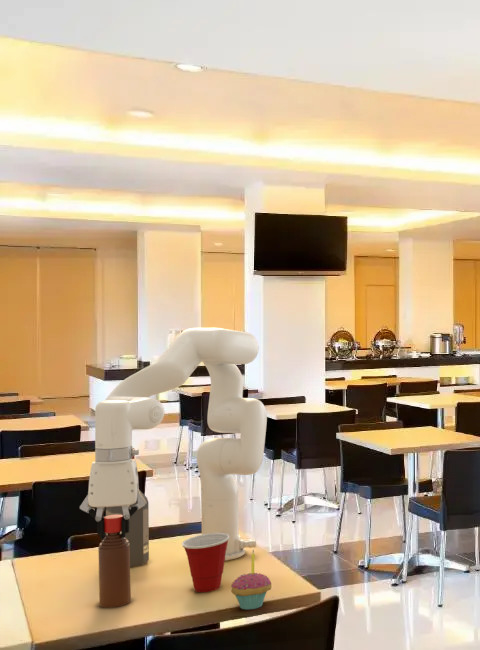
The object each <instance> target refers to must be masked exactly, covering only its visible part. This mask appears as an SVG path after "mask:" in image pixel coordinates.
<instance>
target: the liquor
mask: <svg viewBox="0 0 480 650" xmlns="http://www.w3.org/2000/svg"><path fill="white" fill-rule="evenodd" d="M132 448H133V449H135V448H134V447H132ZM132 459H135V456H133V457H132ZM139 492H140V493H141V494H142V496H143V497H144V499H145V500H146V502H147V503H146V505H145V506H143V507H142V508H140V509H138V510H137V511H136V512H135V513H134V514H133V515H132V516H131V517H130V531H129V533H127V535H126V537H125V538H126V540H128V542H129V544H130V569H131V568H136V567H142V566H144V565H146V564H147V563H148V562H149V560H150V537H149V536H150V534H149V533H150V529H149V527H150V523H149V522H150V520H149V518H150V517H149V514H150V513H149V500H148V497H147V496H146V495H145V494H144V493H143V492H142V491H141V490H140V489H139ZM137 503H138V501H137V500H136V503H134V504H132V505H130V509H131V508H132V507H133V506H134V505H136V504H137ZM109 515H123V509H122V506H114V507H105V516H109ZM123 516H124V515H123ZM120 533H122V531H120ZM106 535H107V533H106Z"/></svg>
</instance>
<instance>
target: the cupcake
mask: <svg viewBox="0 0 480 650" xmlns="http://www.w3.org/2000/svg"><path fill="white" fill-rule="evenodd" d="M255 555H256V553H255V549H253V550H252V552H251V562H250V563H251V564H250V565H251V566H250V572H249V573H243V574H242V575H239V576H238V577H237V578H236V579H235V580H234V581H233V582H232V584H231V589H230V591H231V592H230V593H232V594H233V595H234V596H235V598H236V600H237V602H238V605H239V608H240V609H242V610H246V611H247V610H256V609H259V608H261V607H262V606H263V603H264V600H265V598H266V595H267V593H268V591H270V590H271V589H272V581H271V579H270V578H269V576H267V575H265V574H263V573H257V572H255V561H256V559H255Z"/></svg>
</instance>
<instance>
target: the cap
mask: <svg viewBox="0 0 480 650" xmlns="http://www.w3.org/2000/svg"><path fill="white" fill-rule="evenodd" d="M122 520H123V515H109V516H106V515H104V532H105V533H116V532H120V531H122Z"/></svg>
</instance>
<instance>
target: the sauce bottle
mask: <svg viewBox="0 0 480 650" xmlns="http://www.w3.org/2000/svg"><path fill="white" fill-rule="evenodd" d="M97 548H98V551H97V552H98V591H99V593H98V595H99V597H98V598H99V607H101V608H107V609H108V608H109V609H110V608H112V609H113V608H118V607H122V606H123V607H124V606H126V605H127V604H129V603H130V602H131V600H132V597H131V596H132V594H131V593H132V592H131V591H132V590H131V588H132V587H131V568H130V544H129V542H128V540H126V538H125V537H122V533H120V532H116V533H107V535H106V536H105V537H104V538H103V539H101V542H100V543H99V545H98V547H97Z"/></svg>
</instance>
